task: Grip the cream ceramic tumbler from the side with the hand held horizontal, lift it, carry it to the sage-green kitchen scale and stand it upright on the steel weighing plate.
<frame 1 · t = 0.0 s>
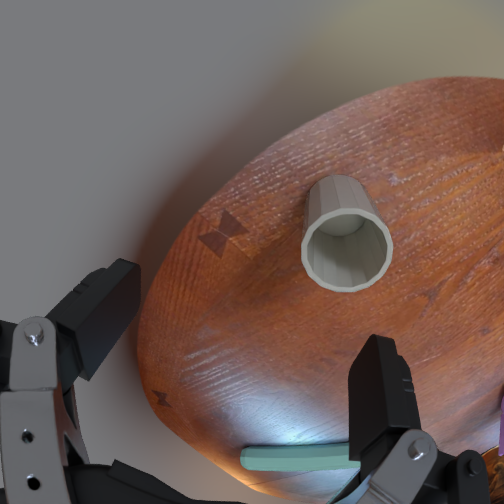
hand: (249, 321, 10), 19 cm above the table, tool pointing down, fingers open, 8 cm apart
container: (308, 445, 47), on the table
tumbler: (338, 206, 27), on the table
vessel: (492, 453, 45), on the table
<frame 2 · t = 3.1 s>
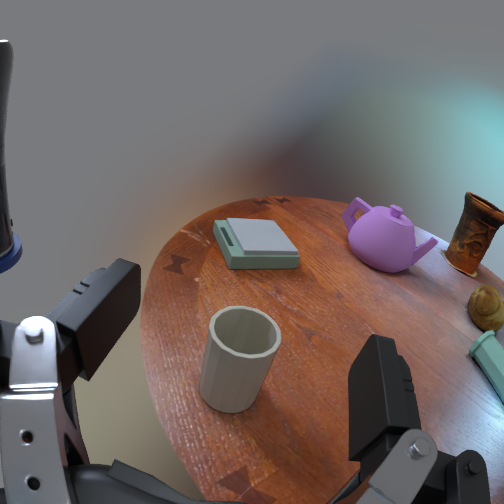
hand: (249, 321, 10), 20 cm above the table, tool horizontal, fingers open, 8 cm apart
teapot: (376, 257, 65), on the table
scale: (252, 249, 55), on the table
bread roll: (479, 318, 52), on the table
tumbler: (228, 388, 30), on the table
vessel: (458, 264, 74), on the table
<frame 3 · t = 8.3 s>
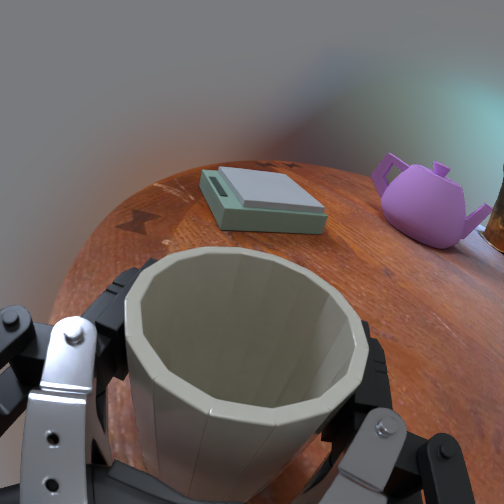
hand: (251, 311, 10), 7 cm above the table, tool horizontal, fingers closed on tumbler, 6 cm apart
teapot: (416, 230, 47), on the table
scale: (256, 208, 37), on the table
tumbler: (209, 451, 12), on the table, touching gripper
vessel: (498, 247, 57), on the table
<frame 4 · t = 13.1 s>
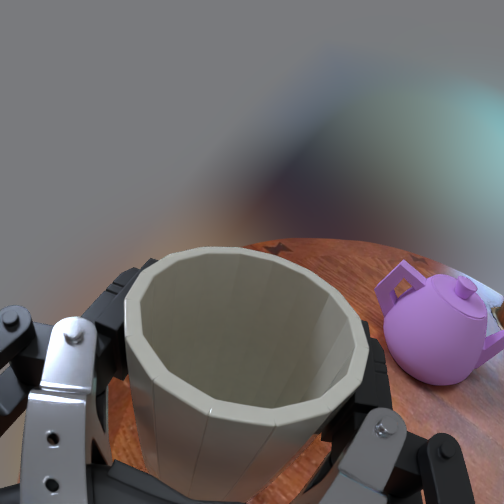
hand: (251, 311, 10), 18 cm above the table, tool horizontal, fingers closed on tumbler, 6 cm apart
teapot: (423, 352, 37), on the table
tumbler: (209, 452, 12), point 11 cm above the table, touching gripper
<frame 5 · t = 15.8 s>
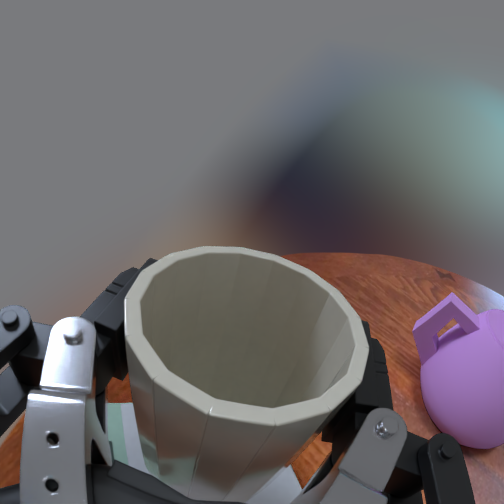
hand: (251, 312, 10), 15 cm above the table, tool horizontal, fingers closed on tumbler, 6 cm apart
teapot: (462, 402, 25), on the table
scale: (195, 486, 16), on the table
tumbler: (209, 451, 12), point 8 cm above the table, touching gripper
when the fingers open (10 cm above the table, at t = 18.0 s): tumbler stays where it is, resting on scale.
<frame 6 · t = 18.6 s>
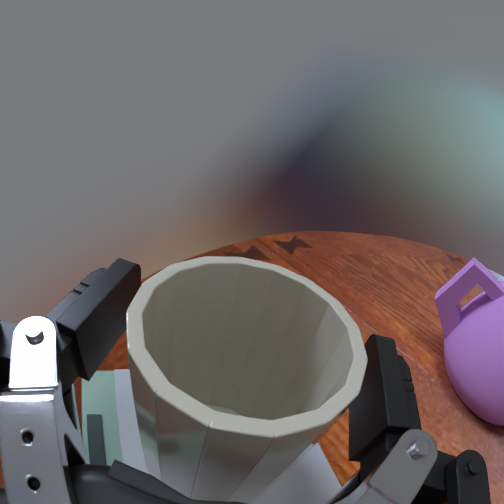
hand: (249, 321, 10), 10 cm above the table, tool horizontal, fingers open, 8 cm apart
teapot: (486, 380, 23), on the table
scale: (202, 473, 13), on the table
tumbler: (210, 456, 12), point 3 cm above the table, touching scale
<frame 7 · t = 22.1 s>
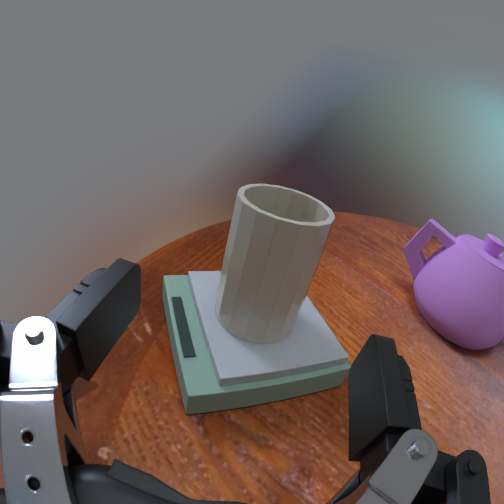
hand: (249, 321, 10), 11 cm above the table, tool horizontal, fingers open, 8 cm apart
teapot: (453, 318, 34), on the table
scale: (244, 341, 24), on the table
tumbler: (254, 314, 23), point 3 cm above the table, touching scale
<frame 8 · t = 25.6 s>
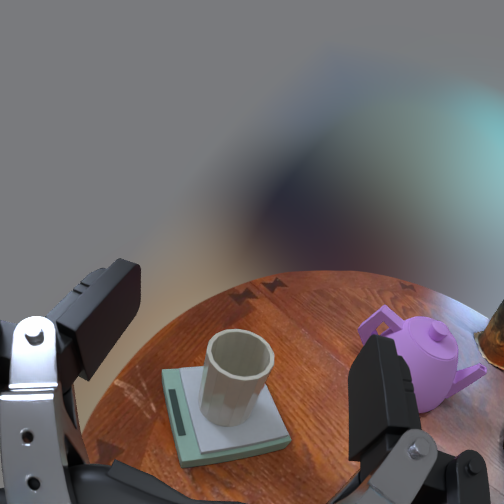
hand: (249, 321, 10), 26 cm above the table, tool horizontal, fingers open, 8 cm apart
teapot: (400, 381, 42), on the table
scale: (220, 416, 32), on the table
tumbler: (225, 403, 31), point 3 cm above the table, touching scale
vessel: (492, 352, 52), on the table
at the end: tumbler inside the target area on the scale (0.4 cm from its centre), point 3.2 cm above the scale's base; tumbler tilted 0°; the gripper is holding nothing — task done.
